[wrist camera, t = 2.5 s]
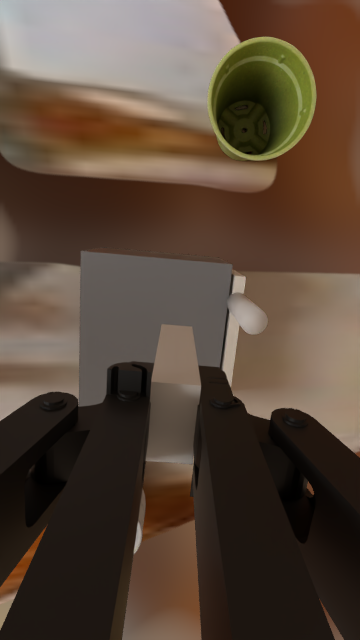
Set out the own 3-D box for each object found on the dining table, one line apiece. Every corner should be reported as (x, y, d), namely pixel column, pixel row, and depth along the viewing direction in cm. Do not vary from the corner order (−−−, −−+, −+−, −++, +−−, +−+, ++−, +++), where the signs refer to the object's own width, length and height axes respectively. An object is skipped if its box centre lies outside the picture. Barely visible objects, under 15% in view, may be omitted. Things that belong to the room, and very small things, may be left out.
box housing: (100, 384, 44) (78, 425, 34) (104, 247, 40) (80, 251, 30) (203, 391, 44) (211, 435, 35) (219, 257, 40) (232, 264, 30)
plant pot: (208, 184, 38) (217, 169, 30) (194, 93, 36) (199, 49, 27) (288, 168, 38) (320, 148, 29) (279, 75, 35) (311, 25, 27)
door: (202, 393, 44) (217, 486, 28) (216, 265, 40) (245, 286, 23) (217, 394, 44) (241, 488, 28) (233, 267, 40) (273, 289, 23)
